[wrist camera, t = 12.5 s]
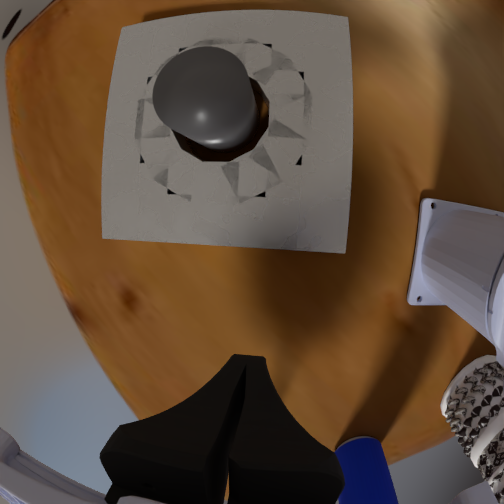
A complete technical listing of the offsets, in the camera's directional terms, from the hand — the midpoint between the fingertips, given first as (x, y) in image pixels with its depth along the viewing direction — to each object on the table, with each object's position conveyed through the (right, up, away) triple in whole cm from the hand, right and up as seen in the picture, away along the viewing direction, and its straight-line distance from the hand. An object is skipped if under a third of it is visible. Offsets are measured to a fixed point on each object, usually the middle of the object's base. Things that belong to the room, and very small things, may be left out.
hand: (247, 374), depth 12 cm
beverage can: (+11, -15, +12) cm, 22 cm away
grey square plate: (-2, +14, +7) cm, 16 cm away
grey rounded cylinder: (-2, +14, +7) cm, 16 cm away
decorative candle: (+23, -9, +10) cm, 27 cm away
